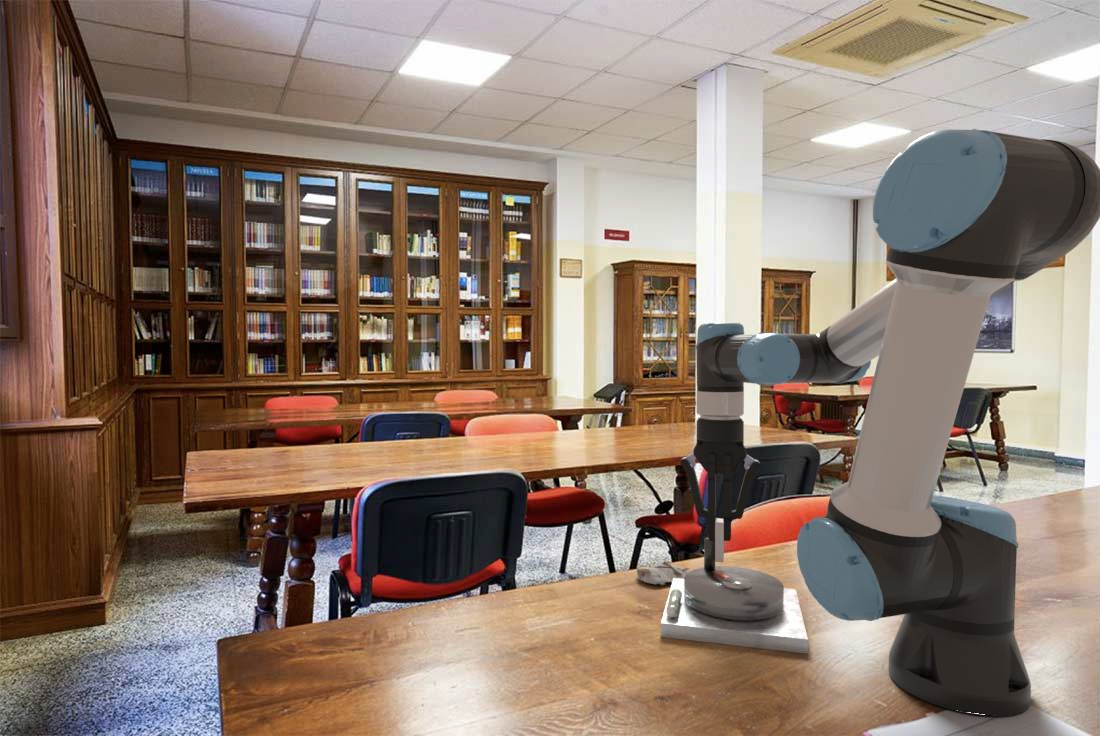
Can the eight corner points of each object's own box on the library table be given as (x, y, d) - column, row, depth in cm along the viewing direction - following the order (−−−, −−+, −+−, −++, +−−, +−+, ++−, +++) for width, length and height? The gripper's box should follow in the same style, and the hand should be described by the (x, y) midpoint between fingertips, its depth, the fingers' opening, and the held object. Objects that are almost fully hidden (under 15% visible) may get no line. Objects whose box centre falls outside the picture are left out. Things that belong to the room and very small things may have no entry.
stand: (807, 653, 93) (808, 626, 93) (660, 636, 98) (661, 610, 98) (795, 601, 112) (795, 578, 112) (673, 589, 117) (673, 567, 117)
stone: (673, 571, 128) (673, 557, 127) (698, 583, 121) (698, 568, 121) (630, 578, 123) (630, 564, 123) (653, 591, 117) (653, 576, 117)
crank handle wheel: (798, 598, 107) (798, 548, 106) (759, 628, 95) (760, 572, 95) (710, 577, 116) (711, 531, 116) (666, 602, 105) (666, 551, 105)
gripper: (760, 415, 113) (759, 555, 114) (681, 414, 116) (681, 550, 117) (761, 420, 106) (761, 569, 106) (678, 418, 109) (678, 563, 110)
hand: (719, 559), depth 112 cm, fingers closed
